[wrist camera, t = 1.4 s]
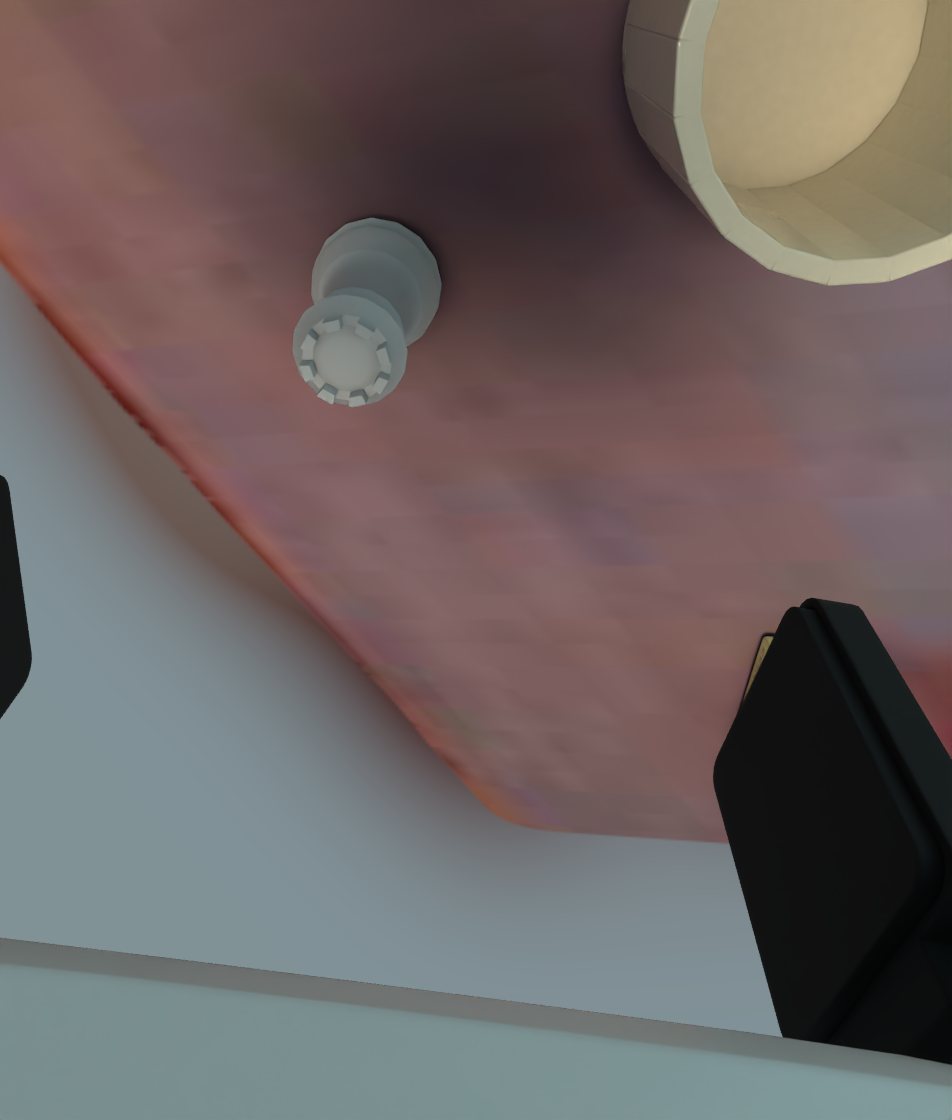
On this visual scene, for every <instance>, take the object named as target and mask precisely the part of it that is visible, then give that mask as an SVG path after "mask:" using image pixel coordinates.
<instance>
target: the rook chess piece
mask: <svg viewBox="0 0 952 1120" xmlns="http://www.w3.org/2000/svg"><path fill="white" fill-rule="evenodd" d="M441 286H442V283H441V279H440V275H439V271H438V267H437V263H436V259H435V257H434V256H433V255H432V253H431V252H430V250H429V249H428V248H427V246H426V245H425V243H424V242H423V241H422V239H421V238H420V237H419V236H418V235H416V234H414V233H413V232H411V231H410V230H408V229H407V228H405V227H404V226H402V225H400V224H399V223H397V222H392V221H387V220H381V219H376V218H368V219H364V220H360V221H355V222H351V223H347V224H345V225H344V226H343V227H342V228H340V229H339V230H338V231H336V232H335V233H334V234H333V235H331V236H330V237H329V238H328V239H327V240H326V241H325V243H324V245H323V247H322V249H321V251H320V253H319V255H318V257H317V259H316V261H315V266H314V268H313V270H312V287H311V296H312V299H313V302H314V305H313V306H312V307H310V308H309V309H308V310H306V311H305V312H304V313H303V314H302V316H301V318H300V320H299V322H298V324H297V326H296V328H295V330H294V332H293V353H292V354H293V356H294V359H295V362H296V365H297V368H298V370H299V373H300V375H301V376H302V377H303V379H304V381H305V382H307V383H308V384H309V386H310V387H311V388H312V389H313V390H314V391H315V392H316V393H318V394H317V396H318V397H319V398H321V399H323V400H325V401H326V402H328V403H330V404H332V405H333V402H334V403H339V404H345V405H350V408H351V407H356V406H360V405H365V404H369V403H374V402H378V401H379V400H380V399H382V398H383V397H385V396H386V395H388V394H389V393H391V392H392V391H394V389H395V388H396V386H397V384H398V383H399V381H400V380H401V378H402V376H403V375H404V373H405V367H406V359H407V348H406V347H408V346H409V345H411V344H412V343H413V342H415V341H416V340H418V339H419V338H420V337H422V336H423V334H424V333H425V331H426V329H427V328H428V326H429V324H430V323H431V321H432V319H433V318H434V316H435V313H436V311H437V310H438V306H439V299H440V292H441Z"/></svg>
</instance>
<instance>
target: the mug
mask: <svg viewBox="0 0 952 1120" xmlns="http://www.w3.org/2000/svg"><path fill="white" fill-rule="evenodd" d="M622 61H623V78H624V85H625V91H626V97H627V100H628V104H629V107H630V111H631V114H632V117H633V120H634V122H635V124H636V127H637V129H638V131H639V134H640V135H641V137H642V139H643V140H644V142H645V144H646V145H647V147H648V149H649V150H650V152H651V153H652V154H653V155H654V157H655V158H656V160H657V161H658V163H659V164H660V166H661V167H662V169H663V170H664V171H665V172H666V173H667V174H668V176H669V177H670V178H671V179H672V180H673V181H674V182H675V183H676V184H677V186H678V187H679V188H680V189H681V190H682V191H683V192H684V193H685V194H686V196H687V197H688V198H689V199H690V200H691V201H692V202H693V203H694V205H695V206H696V207H697V208H698V209H699V210H700V211H701V212H702V213H703V215H704V216H705V217H706V218H707V219H708V220H709V221H710V222H711V223H712V225H713V226H714V227H715V228H716V229H717V230H718V231H719V232H720V233H721V235H722V236H723V237H724V238H725V239H727V240H728V241H730V242H731V243H732V244H734V245H735V246H736V247H738V248H739V249H741V250H742V251H743V252H745V253H746V254H747V255H749V256H750V257H752V258H753V259H754V260H756V261H757V262H758V263H760V264H761V265H763V266H764V267H765V268H767V269H768V270H771V271H773V272H777V273H781V274H784V275H788V276H792V277H795V278H799V279H803V280H806V281H810V282H814V283H817V284H821V285H827V286H834V285H850V284H866V283H882V282H888V281H892V280H895V279H898V278H901V277H904V276H906V275H909V274H912V273H915V272H917V271H920V270H923V269H926V268H929V267H931V266H934V265H937V264H940V263H942V262H945V261H948V260H950V259H952V0H630V2H629V6H628V11H627V16H626V21H625V27H624V36H623V49H622Z"/></svg>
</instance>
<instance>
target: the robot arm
mask: <svg viewBox="0 0 952 1120" xmlns="http://www.w3.org/2000/svg"><path fill="white" fill-rule="evenodd" d="M24 602H25V601H24V594H23V587H22V579H21V573H20V564H19V557H18V550H17V543H16V535H15V528H14V520H13V513H12V505H11V498H10V491H9V486H8V483H7V481H6V479H5V478H4V477H3V476H1V475H0V719H1V717H2V716H3V714H4V713H5V712H6V710H7V709H8V707H9V706H10V704H11V703H12V702H13V700H14V699H15V697H16V696H17V694H18V693H19V692H20V690H21V689H22V687H23V686H24V684H25V682H26V680H27V678H28V675H29V672H30V668H31V661H32V655H31V654H32V653H31V646H30V638H29V631H28V624H27V616H26V609H25V603H24ZM713 782H714V788H715V792H716V796H717V800H718V803H719V807H720V811H721V814H722V818H723V822H724V825H725V829H726V833H727V836H728V840H729V844H730V847H731V851H732V855H733V858H734V862H735V866H736V869H737V873H738V876H739V880H740V884H741V888H742V891H743V895H744V899H745V902H746V906H747V909H748V913H749V917H750V921H751V924H752V928H753V932H754V935H755V939H756V943H757V946H758V950H759V953H760V957H761V961H762V965H763V968H764V972H765V976H766V979H767V983H768V987H769V990H770V994H771V998H772V1001H773V1005H774V1009H775V1012H776V1016H777V1020H778V1023H779V1027H780V1030H781V1033H782V1036H783V1037H776V1036H769V1035H763V1034H756V1033H749V1032H741V1031H735V1030H727V1029H719V1028H712V1027H704V1026H696V1025H689V1024H681V1023H673V1022H666V1021H658V1020H650V1019H643V1018H635V1017H627V1016H620V1015H613V1014H612V1015H611V1014H604V1013H597V1012H590V1011H582V1010H574V1009H566V1008H559V1007H552V1006H544V1005H536V1004H529V1003H520V1002H513V1001H506V1000H498V999H490V998H482V997H474V996H467V995H459V994H450V993H443V992H435V991H427V990H419V989H411V988H403V987H395V986H388V985H380V984H371V983H364V982H356V981H348V980H340V979H332V978H324V977H316V976H308V975H300V974H292V973H284V972H276V971H268V970H260V969H252V968H244V967H236V966H227V965H220V964H212V963H204V962H196V961H188V960H180V959H172V958H164V957H155V956H147V955H139V954H130V953H121V952H114V951H105V950H97V949H88V948H81V947H72V946H63V945H55V944H47V943H38V942H31V941H22V940H13V939H6V938H0V1120H952V759H951V758H950V756H949V754H948V753H947V751H946V749H945V748H944V746H943V744H942V743H941V741H940V739H939V738H938V736H937V734H936V733H935V731H934V729H933V728H932V726H931V724H930V723H929V721H928V719H927V718H926V716H925V714H924V713H923V711H922V709H921V708H920V706H919V704H918V703H917V701H916V699H915V698H914V696H913V694H912V693H911V691H910V689H909V688H908V686H907V684H906V683H905V681H904V679H903V678H902V676H901V674H900V673H899V671H898V669H897V667H896V666H895V664H894V662H893V661H892V659H891V657H890V656H889V654H888V652H887V651H886V649H885V647H884V646H883V644H882V642H881V641H880V639H879V637H878V636H877V634H876V632H875V631H874V629H873V627H872V626H871V624H870V622H869V621H868V619H867V617H866V616H865V614H864V612H863V611H862V610H861V609H860V608H859V606H856V605H852V604H846V603H840V602H834V601H828V600H822V599H816V598H809V599H806V600H805V601H804V602H803V603H802V604H801V606H800V607H791V608H789V609H788V610H787V611H786V613H785V614H784V616H783V618H782V620H781V622H780V624H779V626H778V629H777V631H776V633H775V635H774V637H773V639H772V641H771V643H770V646H769V648H768V650H767V652H766V654H765V656H764V658H763V660H762V663H761V665H760V667H759V669H758V671H757V673H756V675H755V677H754V680H753V682H752V684H751V686H750V688H749V690H748V692H747V694H746V696H745V699H744V701H743V703H742V705H741V707H740V709H739V711H738V713H737V716H736V718H735V720H734V722H733V724H732V726H731V728H730V730H729V733H728V735H727V737H726V739H725V741H724V743H723V745H722V747H721V750H720V752H719V754H718V756H717V759H716V761H715V766H714V773H713Z"/></svg>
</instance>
